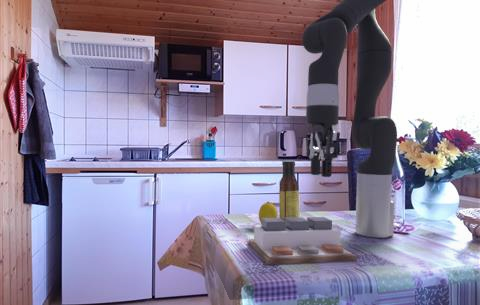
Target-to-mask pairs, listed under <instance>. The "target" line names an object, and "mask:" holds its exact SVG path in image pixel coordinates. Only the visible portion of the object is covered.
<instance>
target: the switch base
mask: <svg viewBox="0 0 480 305" xmlns="http://www.w3.org/2000/svg"><path fill="white" fill-rule="evenodd" d="M248 244H249V245H250V247H251V248H252V249H253V250H254V251H255V252H256V253H257V255H258V256H259V257H260V258H261V259H262V261H263V262H264V263H265V264H266V265H268V266H269V265H284V264H286V265H288V264H307V263H326V262H327V263H328V262H350V261H352V262H353V261H357V259H358V258H357V257H358V256H357V255H356V254H354V253H353V252H351V251H349V250H348V249H346V248H344V247H342V246H341V245H340V246H339V245H337V244H331V245H322V248H320V249H317V248H316V247H315V246H313V245H303V246H297V249H294V250H292V249H291V248H290V247H288V246H275V247H272V250H268V251H262V250H261V249H260V247H259V246H258V245H257V244H256V243H255V242H254V238H252V239H251V238H249V239H248Z"/></svg>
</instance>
